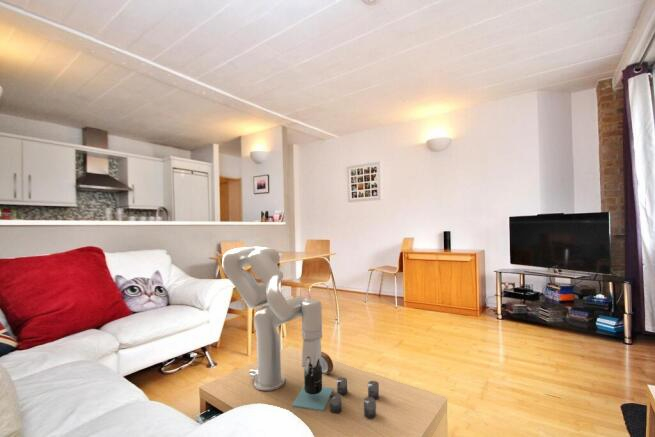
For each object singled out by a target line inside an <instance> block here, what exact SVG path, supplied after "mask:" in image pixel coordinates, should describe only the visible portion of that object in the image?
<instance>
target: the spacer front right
mask: <svg viewBox="0 0 655 437" xmlns="http://www.w3.org/2000/svg"><path fill="white" fill-rule="evenodd" d="M376 401H377V400H375V399H374V398H372V397H368V396H367V397H365V398H363V416H364V418H366V419H369V420H373V419H376V417H377V411H376V410H377V406H376V405H377V402H376Z"/></svg>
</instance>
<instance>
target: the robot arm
mask: <svg viewBox="0 0 655 437" xmlns="http://www.w3.org/2000/svg"><path fill="white" fill-rule="evenodd" d="M280 260H281V257H280V254H279V252H278V250H276V249H275V248H273V247H264V246H263V247H262V246H248V247H237V248H233V249H230V250H228V251H226V252H225V253H224V254H223V256H222V263H221V264H222V270H223V272H224V274H225V275H226V278H228V280H229V281H230V283H232V285H233V286H234V287H235V289H236V290H237V292H238V294H239V295H240V297H241V298H242V300H243V301H244V303H245V304H246V305H247V307H248V308H249V309H251V310H252V309H258V308H259V309H258V310H257V311H256V312H255V314H254V317H253V323H254V324H253V325H254V328H255V334H256V355H257V356H256V357H257V360H256V362H257V364H256V365H257V366H256V367H257V369H253V368H252V369H250V370H249V378H254V380H253V386H254V388H255V389H257V390H259V391H273V390H274V391H275V390H277V389H279V388H280V387H282V386H283V385H284V384H285V379H286V378H285V376H284V375H283V374H282V364H281V363H282V362H281V359H282V358H281V357H282V356H281V336H280V333H279V332H278V330H277V328H278V327H279V326H282V325H284V324H286V323H287V322H291V321H294V320H295V319H297V318H300V317H301V328H302V329H301V332H302V335H301V338H302V340H303V341H302V349H301V350H302V351H301V352H302V353H301V355H302V356H301V358H302V359H301V366H302V367H303V369H304V367H305V369H304V370H303V372H304V371H305V376H306V386H312V387H314V385H315V383H314V375H313V373H314V367H315V366H316V365H317V362H318V359H319V361H320V358H321V351H322V344H321V343H322V341H321V340H322V338H323V322H322V321H323V318H322V317H323V316H322V315H323V312H322V303H321V301H320V300H319V299H315V298H314V299H311V298H310V299H309V298H307V297H305V296H302V295H300V296H295V297H292V298H290V299H286V297H285V296H284V295H283V294H282V292H281V291H280V289H279V284H280V283H281V282H282V280H283V278H284V272H282V270H281V269H280V268H279V267H278V264H279V262H280ZM244 267H251V268H252V270H253V272H255V274H256V276H257V277H258V278H259V279H260V280H261V282H262V283H259V282H257V280H256V279H255V277H254V276H253V275H252V273H250V272H249V271H248V270H246V269H244ZM319 364H320V363H319ZM310 365H312V366H310ZM309 368H312V371H310V370H309Z"/></svg>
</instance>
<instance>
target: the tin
mask: <svg viewBox="0 0 655 437" xmlns="http://www.w3.org/2000/svg"><path fill="white" fill-rule="evenodd" d="M320 365H321V366H322V375H328V374H330V373H331V372H333V370H334V364H333V360H332V358H331V356H329V354H327V353H326V352H324V351H322V350H321V358H320Z"/></svg>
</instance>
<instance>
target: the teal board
mask: <svg viewBox="0 0 655 437" xmlns="http://www.w3.org/2000/svg"><path fill="white" fill-rule="evenodd" d="M333 391H334V388H333V387H326V386H322V391H321V392H320V393H318V394H308V393H306V392H305V390H304V385H303V386H302V387H301V390H300V391H299V392H298V394H297V396H296V398H295V399H294V401H293V402H292V404H291V407H293V408H300V409H306V410H314V411H322V412H325V410H326V407H327V405H328V402H330V395H331V394H332V393H333Z"/></svg>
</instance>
